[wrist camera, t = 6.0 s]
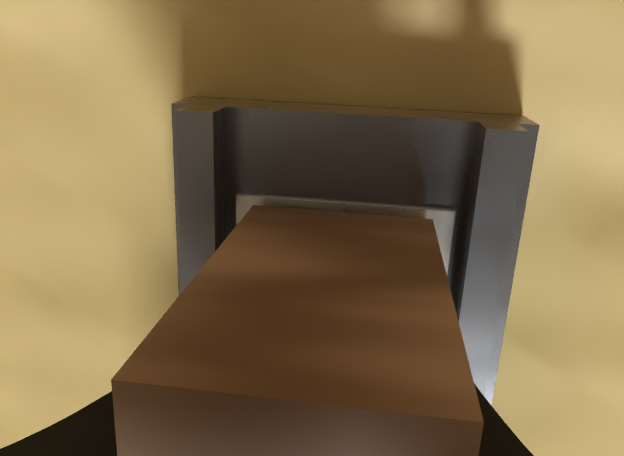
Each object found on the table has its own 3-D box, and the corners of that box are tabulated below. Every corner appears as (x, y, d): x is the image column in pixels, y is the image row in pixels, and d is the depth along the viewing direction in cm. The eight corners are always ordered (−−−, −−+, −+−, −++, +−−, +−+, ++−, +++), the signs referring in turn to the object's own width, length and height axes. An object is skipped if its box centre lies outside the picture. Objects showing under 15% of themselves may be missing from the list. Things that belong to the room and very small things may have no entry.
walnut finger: (432, 219, 12) (483, 422, 6) (407, 432, 14) (425, 773, 8) (253, 205, 13) (110, 380, 6) (250, 414, 15) (138, 721, 8)
